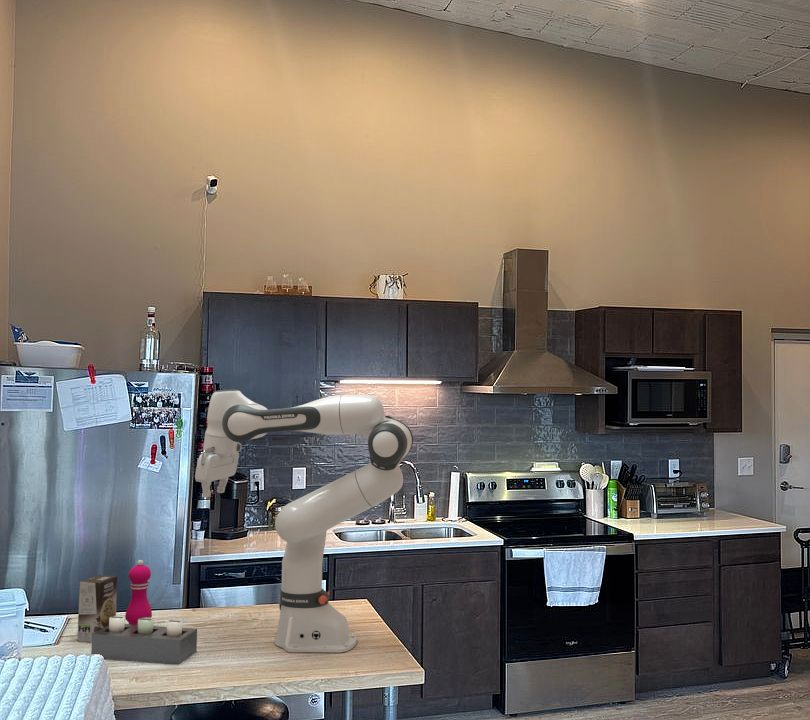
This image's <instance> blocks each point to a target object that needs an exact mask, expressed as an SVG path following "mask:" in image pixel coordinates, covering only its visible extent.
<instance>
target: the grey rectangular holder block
mask: <svg viewBox="0 0 810 720" xmlns="http://www.w3.org/2000/svg"><path fill="white" fill-rule="evenodd" d="M197 643H198V628H194V627H193V628H192V627H190V628H189V627H182V635H181V636H180V637H174V636H167V626H162V625H161V626H159V625H153V633H152V634H150V635H146V634H138V625H135V624H129V623H125V629H124V631H123V632H121V633H117V632H109V625H108V626H106V627H104V628H102V629H100V630H99V631H97V632H95V633H93V634H92V642H91V654H100V655H102V656H103V657H104V658H105V659H104V660H112V661H113V660H114V661H115V660H116V661H128V662H130V661H131V662H141V663H153V664H155V663H157V664H167V665H179V664H180V665H181V664H182V663H184V662H185V661H186V660H188V659H190V658H191V657H192V656H193V655H195V654H196V653H197V652H198V651H197V650H198V649H197V648H198V646H197V645H198V644H197Z"/></svg>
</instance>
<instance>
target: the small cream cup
mask: <svg viewBox="0 0 810 720" xmlns="http://www.w3.org/2000/svg"><path fill="white" fill-rule="evenodd" d="M125 621H126V619H125V615H116V616H112V617H110V618H109V632H117V633H121V632H123V631H124V629H125V624H126V622H125Z"/></svg>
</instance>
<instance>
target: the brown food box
mask: <svg viewBox="0 0 810 720" xmlns="http://www.w3.org/2000/svg"><path fill="white" fill-rule="evenodd" d="M117 591H118V575H107V574H106V575H103V574H102V575H101V574H100V575H99V574H97V575H95V576H92V577H89V578H86V579H83V580H80V581H79V591H78V593H79V594H78V614H77V615H78V616H77V617H78V620H77V622H78V623H77V638H76V641H77V642H88V643H92V634H93V633H95V632H97V631H99V630H100V629H102V628H104V627H106V626H108V625H109V618H110V617H112V616H117V597H118V596H117V595H118V593H117Z"/></svg>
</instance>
